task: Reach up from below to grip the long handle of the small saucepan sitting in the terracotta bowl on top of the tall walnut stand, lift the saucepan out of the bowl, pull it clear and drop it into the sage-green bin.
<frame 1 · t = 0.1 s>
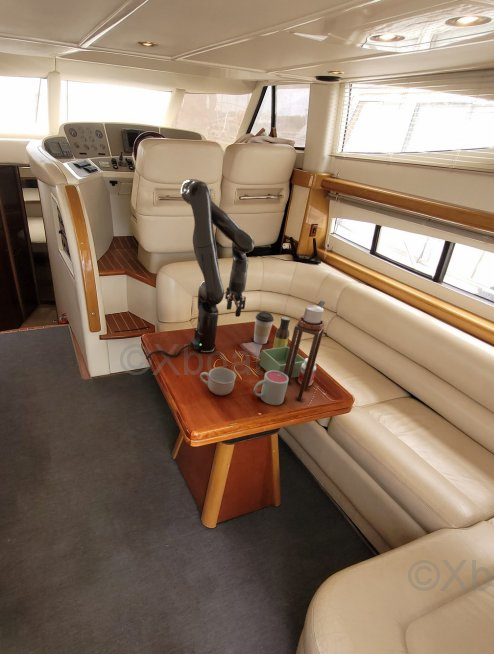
hand: (233, 312, 183), 17 cm above the table, tool pointing down, fingers open, 8 cm apart
stand: (293, 391, 159), on the table
pill bottle: (304, 383, 166), on the table
mug: (266, 399, 153), on the table
teacup: (216, 390, 155), on the table
bin: (280, 370, 174), on the table
sauce bottle: (277, 357, 185), on the table
small saucepan: (310, 324, 144), point 30 cm above the table, touching stand
coffee cup: (260, 341, 198), on the table
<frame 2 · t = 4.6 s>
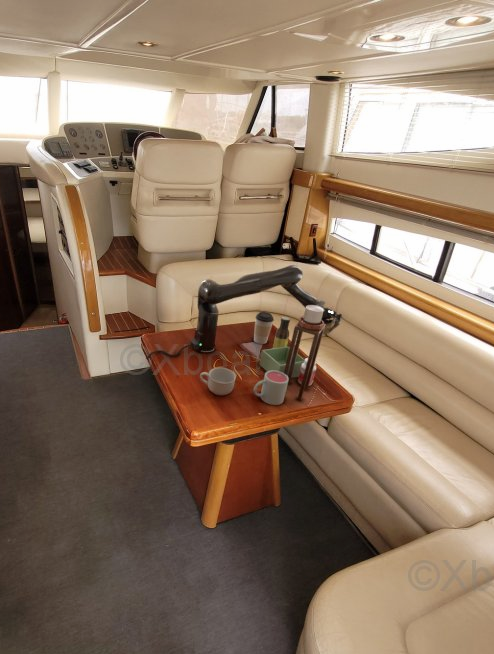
hand: (323, 310, 162), 29 cm above the table, tool pointing upward, fingers open, 8 cm apart
nothing on the table moved.
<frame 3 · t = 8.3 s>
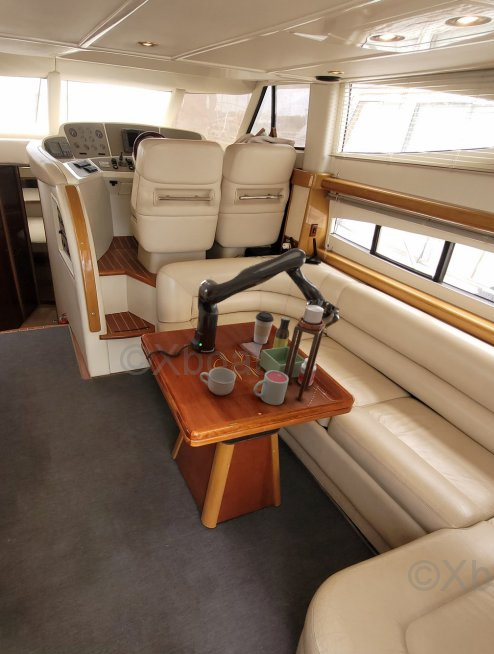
hand: (320, 302, 148), 36 cm above the table, tool pointing upward, fingers closed on small saucepan
small saucepan: (310, 324, 144), point 30 cm above the table, touching gripper, stand
everything else where it was.
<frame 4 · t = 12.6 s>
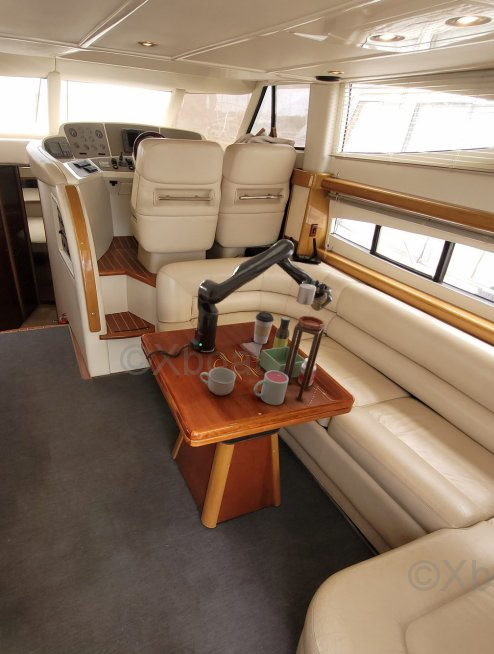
hand: (313, 281, 159), 40 cm above the table, tool pointing upward, fingers closed on small saucepan
small saucepan: (304, 301, 155), point 34 cm above the table, touching gripper
everything else where it was.
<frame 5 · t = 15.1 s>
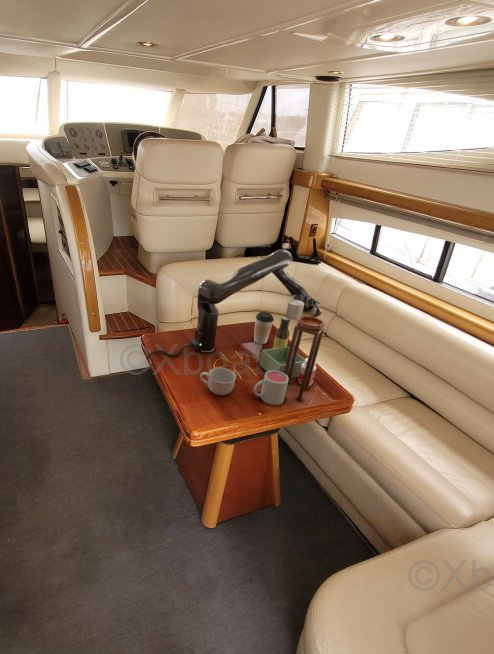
hand: (302, 297, 165), 32 cm above the table, tool pointing upward, fingers closed on small saucepan
small saucepan: (293, 317, 161), point 26 cm above the table, touching gripper
everything else where it was.
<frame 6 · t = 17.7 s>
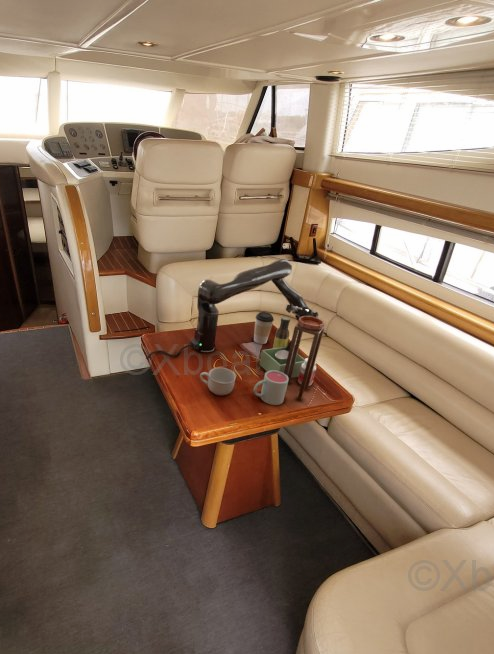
hand: (300, 308, 168), 27 cm above the table, tool pointing upward, fingers open, 8 cm apart
small saucepan: (283, 365, 174), point 1 cm above the table, tilted 17°, touching bin
everything else where it was.
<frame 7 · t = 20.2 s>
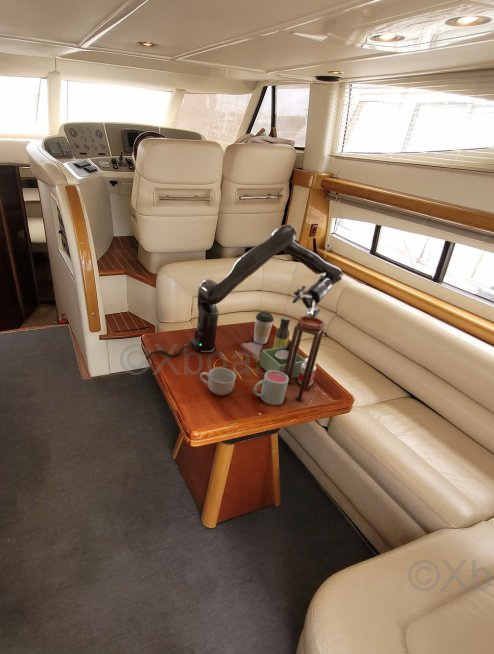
hand: (299, 310, 166), 27 cm above the table, tool tilted 75°, fingers open, 8 cm apart
nothing on the table moved.
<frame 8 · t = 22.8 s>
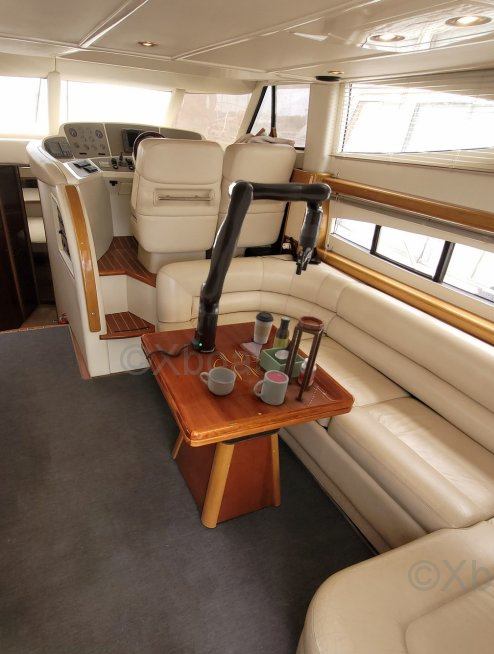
hand: (300, 272, 169), 40 cm above the table, tool pointing down, fingers open, 8 cm apart
nothing on the table moved.
at the end: small saucepan inside the target area in the bin (1.9 cm from its centre), point 1.5 cm above the bin's base; small saucepan moved 34.1 cm from its start; the gripper is holding nothing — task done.
